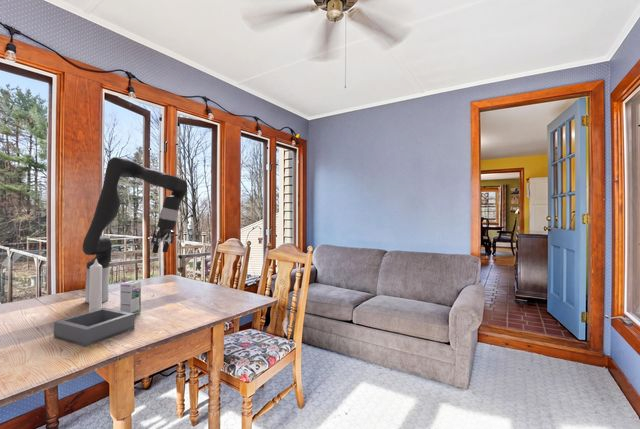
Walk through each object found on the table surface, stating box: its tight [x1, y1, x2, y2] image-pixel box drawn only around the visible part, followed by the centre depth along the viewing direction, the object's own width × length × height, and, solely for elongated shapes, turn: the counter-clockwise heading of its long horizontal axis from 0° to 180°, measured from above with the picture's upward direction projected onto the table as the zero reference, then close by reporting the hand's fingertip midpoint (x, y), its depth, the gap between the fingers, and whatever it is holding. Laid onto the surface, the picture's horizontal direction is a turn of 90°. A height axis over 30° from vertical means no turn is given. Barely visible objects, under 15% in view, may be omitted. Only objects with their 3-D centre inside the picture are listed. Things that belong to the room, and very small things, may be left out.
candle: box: [88, 259, 103, 312], centre depth 136 cm, size 7×7×25 cm
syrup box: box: [119, 280, 142, 315], centre depth 138 cm, size 6×6×14 cm
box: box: [53, 307, 136, 348], centre depth 117 cm, size 18×18×6 cm
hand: (159, 252), depth 142 cm, fingers open, 8 cm apart
